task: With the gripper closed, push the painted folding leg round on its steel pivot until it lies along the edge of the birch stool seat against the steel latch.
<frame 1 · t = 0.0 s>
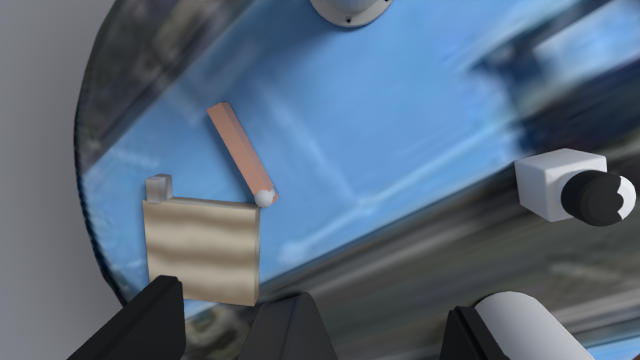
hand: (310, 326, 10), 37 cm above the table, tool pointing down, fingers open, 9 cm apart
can: (504, 320, 51), on the table
medicine bottle: (540, 176, 44), on the table
speaker: (307, 342, 55), on the table
stool seat: (208, 246, 52), on the table
folding leg: (244, 156, 45), point 2 cm above the table, hinge at 60.0°
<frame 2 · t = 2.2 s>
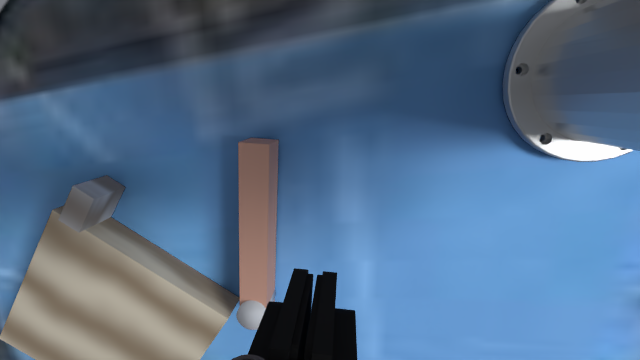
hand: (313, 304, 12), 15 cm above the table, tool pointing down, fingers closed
stool seat: (129, 308, 32), on the table
folding leg: (257, 235, 26), point 2 cm above the table, hinge at 60.0°
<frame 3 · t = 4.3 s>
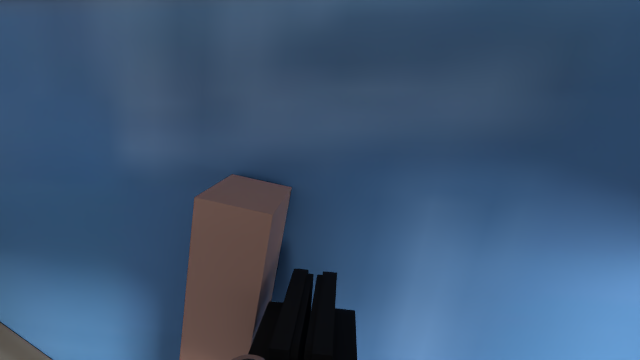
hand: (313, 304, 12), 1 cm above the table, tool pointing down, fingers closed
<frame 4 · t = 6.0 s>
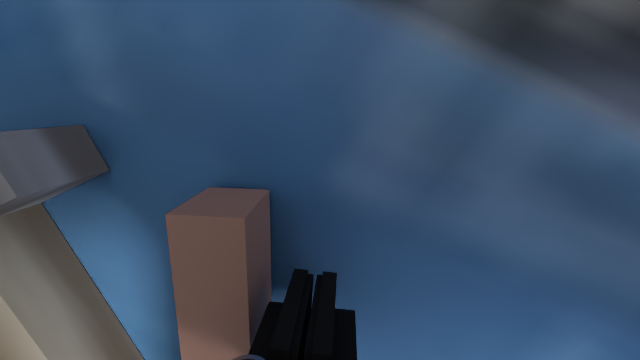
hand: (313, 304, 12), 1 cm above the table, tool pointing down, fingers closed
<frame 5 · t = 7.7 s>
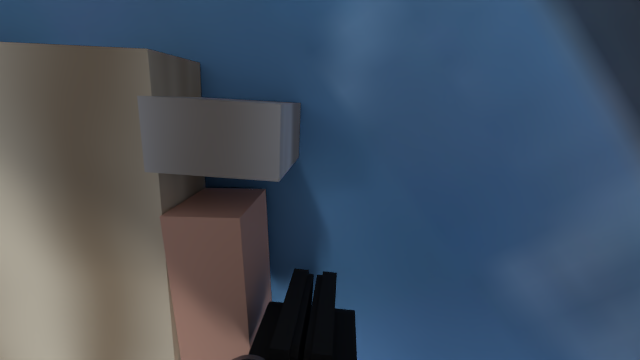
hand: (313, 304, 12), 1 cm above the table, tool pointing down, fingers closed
stool seat: (26, 265, 14), on the table
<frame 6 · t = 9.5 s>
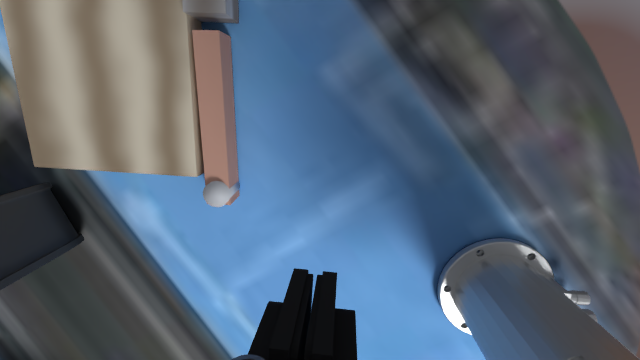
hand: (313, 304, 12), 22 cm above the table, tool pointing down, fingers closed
speaker: (4, 228, 37), on the table
stool seat: (123, 80, 31), on the table
folding leg: (217, 123, 30), point 2 cm above the table, hinge at -1.7°
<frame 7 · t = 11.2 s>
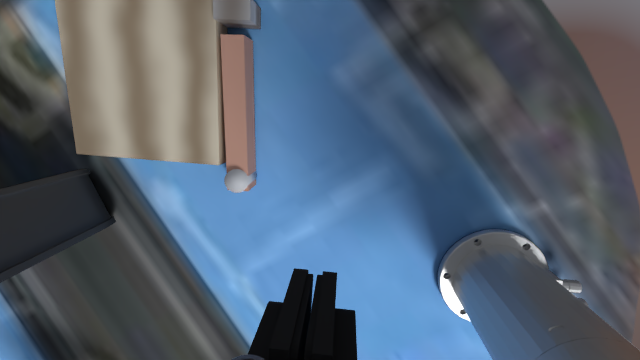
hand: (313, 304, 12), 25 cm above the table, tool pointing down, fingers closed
speaker: (44, 210, 41), on the table
stool seat: (156, 78, 35), on the table
folding leg: (239, 117, 33), point 2 cm above the table, hinge at -1.7°
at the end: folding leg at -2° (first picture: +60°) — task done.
